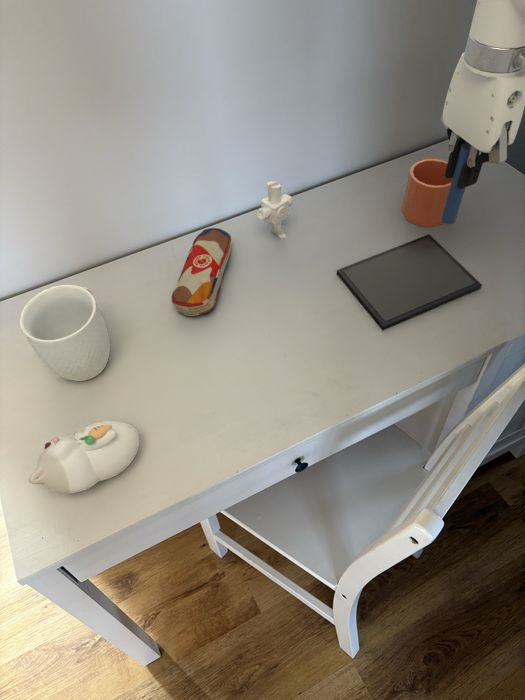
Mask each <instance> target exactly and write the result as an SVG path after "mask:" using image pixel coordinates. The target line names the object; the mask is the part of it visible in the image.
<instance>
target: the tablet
mask: <svg viewBox="0 0 525 700" xmlns="http://www.w3.org/2000/svg"><path fill="white" fill-rule="evenodd" d="M336 275H337V276H338V277H339V279H340V280H341V281H342V282H343V284H344V285H345V286H346V288H347V289H348V290H349V291H350V292H351V294H352V295H353V296H354V297H355V299H356V300H357V301H358V302H359V303H360V305H361V306H362V307H363V308H364V309H365V311H366V312H367V313H368V315H369V316H370V317H371V319H373V320H374V322H375V323H376V325H378V327H379V328H380V329H381V330H382V331H385V330H388V329H390V328H392V327H395V326H397V325H399V324H402V323H404V322H406V321H408V320H411V319H413V318H416V317H418V316H421V315H423V314H426V313H428V312H430V311H432V310H435V309H437V308H439V307H441V306H444V305H446V304H449V303H450V302H454V301H455V300H458V299H461V298H462V297H465V296H466V295H469V294H471V293H475V292H476V291H478V290H481V288H482V286H483V284H482V283H481V282H480V281H479V280H478V279H477V278H476V277H475V276H474V275H473V274H472V273H470V271H468V270H467V269H466V268H465V267H464V266H463V265H462V264H461V263H460V262H459V261H458V260H457V259H456V258H455V257H454V256H452V255H451V254H450V252H449V251H447V250H446V248H445V247H443V246H442V244H441V243H439V242H438V241H437V240H436V239H435V238H434V237H433V236H432V235H431V234H430V233H428V234H425V235H423V236H421V237H418V238H416V239H413V240H410V241H408V242H405V243H402V244H400V245H398V246H395V247H393V248H390V249H388V250H384V251H382V252H380V253H376V254H375V255H372V256H370V257H367V258H364V259H362V260H359V261H357V262H354V263H352V264H349V265H347V266H344V267H342V268H339V269H337V270H336Z"/></svg>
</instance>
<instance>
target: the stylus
mask: <svg viewBox="0 0 525 700" xmlns="http://www.w3.org/2000/svg"><path fill="white" fill-rule="evenodd" d="M471 146H472V145H471V144H469V143H468V142H466V143H463V144H462V146H461V149H460V153H459V157H458V160H457V164H456V167H455V171H454V175H453V178H452V182H451V185H450V189H449V193H448V196H447V200H446V204H445V207H444V211H443V214H442V218H441V220H442V221H443V223H444V224H445V225H452V224H454V223H456V221H457V217H458V214H459V210H460V207H461V205H462V201H463V197H464V194H465V191H466V188H467V187H465V188H462V189H459V188H458V187H457V183H458V180H459V176H460V173H461V169H462V166H463V164H464V163H467V160H468V157H469V153H470V149H471Z"/></svg>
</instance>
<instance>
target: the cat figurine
mask: <svg viewBox="0 0 525 700" xmlns="http://www.w3.org/2000/svg"><path fill="white" fill-rule="evenodd" d="M139 449H140V435H139V432H138V430H137V429H136V428H135V427H133V426H132V425H131V424H129V423H126V422H123V421H119V420H103V421H97V422H93V423H91V424H89V425H86V426H85V427H83V428H81V429H79V430H78V431H77V432H76V433H75V434H64V435H59V436H56V437H54V438H53V439H52V440H51V441H50V442H49V441H48V442H46V443H45V444H44V449H43V450H42V451H41V453H40V455H39V457H38V460H37V465H36V467H35V469H33V471H32V472H31V474H30V475H29V476H28V482H29V484H32V485H41V486H45V487H46V488H47V489H49V490H51V491H52V492H54V493H57V494H58V493H59V494H65V495H66V494H67V495H68V494H75V493H80V492H85V491H88V490H89V489H91V488H92V487H94V486H95V485H96V484H98V483H99V482H102V481H106V480H109V479H111V478H114V477H115V476H118V475H119V474H121V473H122V472H124V471H125V470H126V469H127V468H128V467H129V466H130V465H131V463H132V462H133V461H134V459H135V458H136V456H137V453H138V451H139Z"/></svg>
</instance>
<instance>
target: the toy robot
mask: <svg viewBox="0 0 525 700" xmlns="http://www.w3.org/2000/svg"><path fill="white" fill-rule="evenodd" d="M266 187H267V196H266V197H264V198H262V199H261V200H260V208H258V210H257V211H256V217H257V219H258V220H259V221H265V220H267V221H268V225H269V227H270V230H271V233H272V234H273V235H276V236H277V237H278V238H279V239H285V238H286V237H287V235H286V234H285V233H284V230H283V227H282V226H283V220H285V219H286V218H288V217H289V215H290V214H289V213H290V211H289V207H291V206H292V204H293V198H292V196H291V195H290V194H287V193H284V194H282V185H281V183H279V182H277V181H275V180H273V181H271V180H270V181H268V182H267V183H266ZM281 194H282V195H281Z"/></svg>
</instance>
